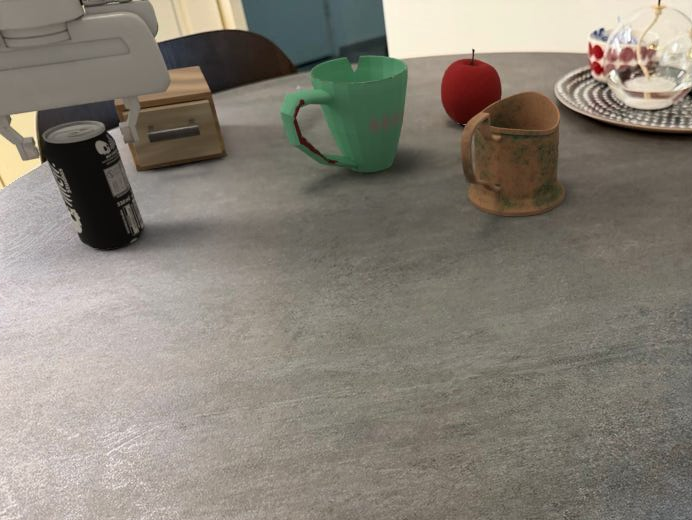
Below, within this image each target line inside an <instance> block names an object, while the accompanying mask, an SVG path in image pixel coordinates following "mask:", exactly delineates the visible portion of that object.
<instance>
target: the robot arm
mask: <svg viewBox="0 0 692 520" xmlns="http://www.w3.org/2000/svg"><path fill="white" fill-rule="evenodd" d="M156 15H157V14H156V12H155V9H154V6H153V4H152V3H151V2H150V0H0V135H1V136H2V137H3V138H4V139H6V141H8V142H10V143H11V144H12V145H13V146H14V145H15V148H16V150H17V152H18V154H19V156H20V158H21V160H22V161H23V162H27V161H31V160H37V159H41V158H40V156H41V153H40V150H39V148H38V146H36V144H37V142H36V141H35V138H34V136H28V137H26V136H25V137H24V136H23V135H22V134H21V133H20V132H18V131H17V130H15V129H14V127H12V126H11V123H12V115H13V116H14V115H19V114H26V113H27V114H28V113H33V112H40V111H46V110H52V109H53V110H54V109H60V108H66V107H67V108H68V107H74V106H81V105H87V104H94V103H101V102H107V101H113V100H115V99H121V98H122V99H123V102H124V105H125V108H126V109H130V111H129V115H128V119H127V121H126V122H119V123H118V127H119V131H120V134H121V135H122V140H123V142H124V144H125V145H128V143H134V142H140V138H139V134H138V131H137V128H136V123H137V119H138V115H139V111H140V102H139V99H138V96H141V95H148V94H155V93H161V92H165V91H166V90H167V89H168V87H169V85H170V82H171V79H170V76H169V73H168V70H169V69H168V66H167V64H166V61H165V59H164V55H163V54H162V51H161V49H160V47H159V44H158V41H157V39H156V36H157V35H158V32H159V22H158V19H157V16H156Z"/></svg>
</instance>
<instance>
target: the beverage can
mask: <svg viewBox="0 0 692 520" xmlns="http://www.w3.org/2000/svg"><path fill="white" fill-rule="evenodd" d="M41 136H42V139H43V141H44V147H43V154H44V157H45V159H46V161H47V164H48V166H49V168H50V171H51V173H52V176H53V178H54V180H55V183H56V185H57V187H58V190H59V192H60V195H61V197H62V199H63V203H64V204H65V206H66V209H67V211H68V214H69V217H70V218H71V221H72V224H73V226H74V228H75V230H76V233H77V236H78V237H79V240H80V241H81V242H82V244H84V245H87V246H89V247H90V248H92V249H94V250H102V251H103V250H104V251H105V250H106V251H107V250H115V249H119V248H123V247H125V246H128V245H131V244H132V243H134V242H135V241H137V240H138V239H139V238H140V237H141V236H142V233H143V231H144V229H145V222H144V221H143V217H142V214H141V211H140V209H139V205H138V203H137V200H136V197H135V194H134V191H133V188H132V186H131V183H130V180H129V177H128V175H127V174H128V173H127V172H126V169H125V166H124V163H123V160H122V158H121V155H120V151H119V148H118V145H117V143H116V140H115V138H114V137H113V136H112V135H111V134H110V133H109V132H108V131H107V129H106V125H105V124H104V123H103V122H101V121H97V120H78V121H71V122H66V123H62V124H58V125H55V126H53V127H50V128H48V129H47V130H45V131H44V132H43V133H42V135H41Z"/></svg>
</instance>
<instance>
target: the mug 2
mask: <svg viewBox="0 0 692 520" xmlns="http://www.w3.org/2000/svg"><path fill="white" fill-rule="evenodd" d="M560 119H561V113H560V110H559V107H558V106H557V104H556V103H555V102H554V101H553V100H552V99H551V98H550V97H549V96H547V95H546V94H544V93H541V92H539V91H535V90H527V91H521V92H518V93H515V94H511V95H509V96H506V97H504V98H501V100H499V101H497V102H495V103H493V104H491V105H490V106H488V107H487V108H485V109H484V110H483V111H481V112H480V113H478V114H477V115H476V116H474V117H473V118H472V119H471V120H470V121H469V122H468V123H467V124H466V125H464V128H463V130H462V133H461V137H460V159H461V160H460V161H461V167H462V172H463V175H464V177H465V180H466V181H467V182H468V183H470V186H469V187H468V188H467V199H468V202H469V203H470V204H471V205H472V206H473V207H475V208H476V209H478V210H480V211H482V212H485V213H487V214H492V215H495V216H503V217H527V216H534V215H539V214H543V213H546V212H549V211H551V210H553V209H555V208H557V207H558V206H560V204H562V202H563V201H564V200H565V193H566V190H565V187H564V186H563V185H562V183H561V181H559V179H558V169H559V155H560V154H559V145H560V124H561V123H560V122H561V120H560ZM472 143H473V145H472ZM472 146H474V148H473V149H474V157H473V155H472V152H473V151H472ZM473 161H474V165H473Z"/></svg>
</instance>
